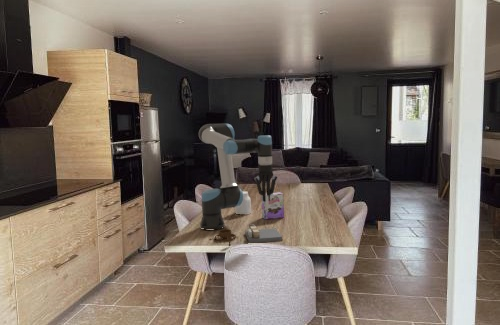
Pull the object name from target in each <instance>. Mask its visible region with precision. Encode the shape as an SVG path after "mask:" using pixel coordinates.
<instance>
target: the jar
mask: <svg viewBox="0 0 500 325" xmlns="http://www.w3.org/2000/svg"><path fill="white" fill-rule="evenodd" d="M242 192H243V201H242V203H241V205H239V206H237V207H234V214H235V213H236V214H249V215H251V214H252V206H251V205H252V200H251V199H252V198H251V197H250V196H249V192H248V191H242ZM250 213H251V214H250ZM236 214H235V215H236Z"/></svg>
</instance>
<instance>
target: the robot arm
mask: <svg viewBox="0 0 500 325" xmlns="http://www.w3.org/2000/svg"><path fill="white" fill-rule="evenodd" d="M235 135H236V134H235V130H234V128H233V126H232V124H229V123H225V122H223V123H221V122H220V123H207V124H204V125H202V126H201V127H200V129H199V131H198V137H199V140H201V142H202V143H205V144H210V145H213V146H214V147H215V148H216V150H217V157H218V165H219V172H220V179H221V180H220V181H221V186H220V187H219V188H211V189H207V190H204V191H203V192H202V193H201V212H202V217H201V220H200V224H199V225H200V226H199V228H200V227H201V228H204V229H219V228H222V227H224V226H225V227H226V225H225V220H224V218H223V215H222V210H225V209H229V208H230V209H231V208H235V207H237V206H239V205H241V203H242V201H243V192H244V191H243V190H242V189H241V188H240V187H239V185H238V184H237V182H236V178H235V170H234V162H233V157H232V156H233V155H237V154H250V153H252V154H253V153H257V158H258V160H257V161H258V174H257V176H255V177H253V180H254V181H255V183H256V187H257V191H258V194H259V195H261V197H262V196H263V201H264V207H266V208H269V201H270V195H271V194H273V193H275V192H274V191H275V185H276V181H277V179H278V176H276V175H274V173H273V141H272V140H273V139H272V135H268V134H267V135H264V134H263V135H258V136H257V138H247V139H235ZM260 181H261V182H260ZM266 194H267V195H266ZM225 227H224V228H225ZM222 229H223V228H222ZM219 230H220V229H219Z"/></svg>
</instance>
